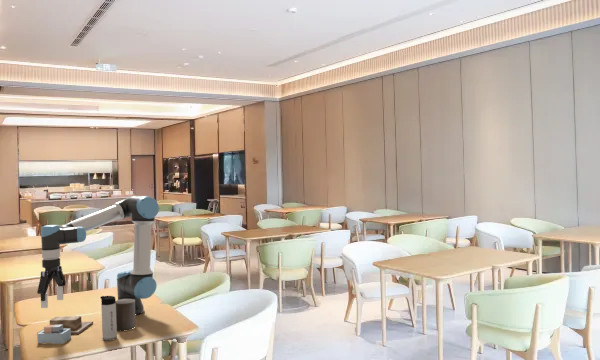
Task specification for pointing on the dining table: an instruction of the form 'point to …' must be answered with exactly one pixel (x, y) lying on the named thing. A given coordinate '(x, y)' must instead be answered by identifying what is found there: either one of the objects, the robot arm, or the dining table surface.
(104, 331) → the travel mug
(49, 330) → the terracotta block
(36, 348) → the dining table surface
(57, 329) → the metal block
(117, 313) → the pillar candle
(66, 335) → the blue-grey open box
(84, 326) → the dock
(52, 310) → the dining table surface
